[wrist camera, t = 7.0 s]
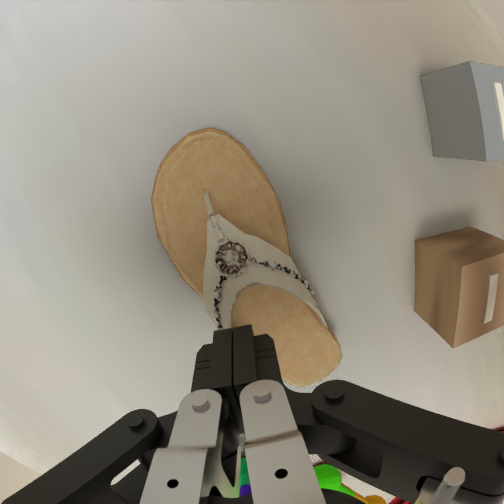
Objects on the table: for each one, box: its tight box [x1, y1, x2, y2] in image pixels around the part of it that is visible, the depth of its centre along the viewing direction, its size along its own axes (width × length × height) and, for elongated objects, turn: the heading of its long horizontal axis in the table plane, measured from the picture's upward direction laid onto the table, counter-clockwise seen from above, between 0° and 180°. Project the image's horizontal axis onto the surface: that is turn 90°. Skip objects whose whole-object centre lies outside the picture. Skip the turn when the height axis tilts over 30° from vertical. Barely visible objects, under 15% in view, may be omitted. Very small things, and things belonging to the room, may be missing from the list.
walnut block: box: [414, 227, 504, 348], centre depth 16 cm, size 5×5×5 cm
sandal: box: [151, 128, 342, 386], centre depth 16 cm, size 7×16×5 cm, turn 35°
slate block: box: [420, 61, 504, 161], centre depth 13 cm, size 5×5×5 cm
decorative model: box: [239, 457, 386, 504], centre depth 20 cm, size 13×9×15 cm
